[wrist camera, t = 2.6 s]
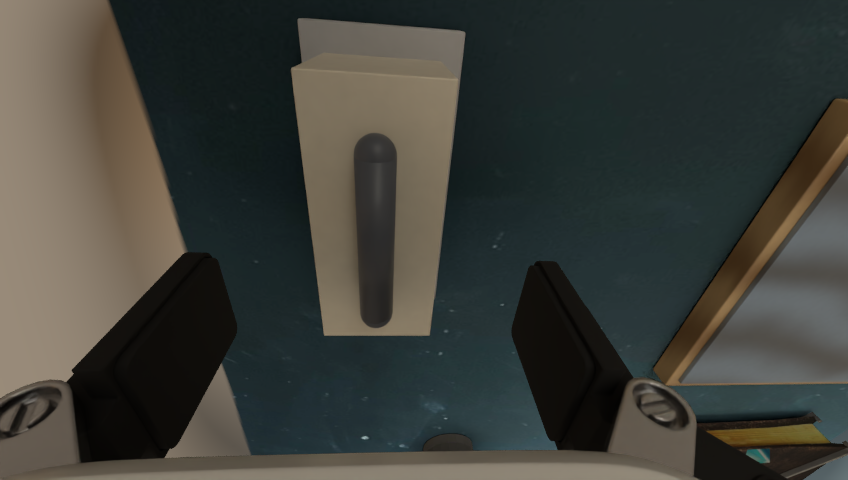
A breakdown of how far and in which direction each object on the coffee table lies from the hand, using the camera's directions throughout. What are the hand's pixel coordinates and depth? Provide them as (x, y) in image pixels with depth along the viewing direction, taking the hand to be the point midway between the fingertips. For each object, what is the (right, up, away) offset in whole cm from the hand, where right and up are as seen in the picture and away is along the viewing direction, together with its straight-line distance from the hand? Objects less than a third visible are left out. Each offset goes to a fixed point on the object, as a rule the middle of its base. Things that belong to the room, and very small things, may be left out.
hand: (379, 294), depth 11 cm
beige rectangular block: (-1, +5, +6) cm, 8 cm away
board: (+29, 0, +12) cm, 31 cm away
